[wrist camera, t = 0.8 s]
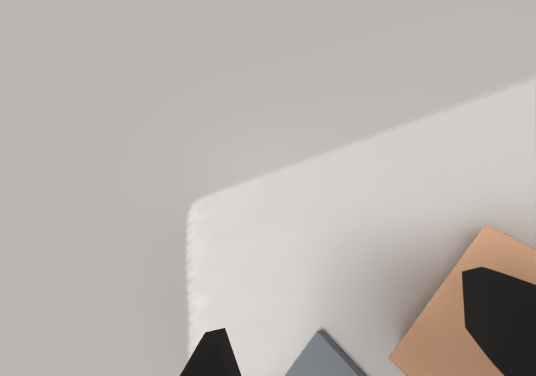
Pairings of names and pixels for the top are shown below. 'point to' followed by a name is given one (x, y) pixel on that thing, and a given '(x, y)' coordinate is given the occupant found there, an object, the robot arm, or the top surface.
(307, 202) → the top surface
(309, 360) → the rubber mat
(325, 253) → the top surface
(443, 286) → the tan rectangular block
